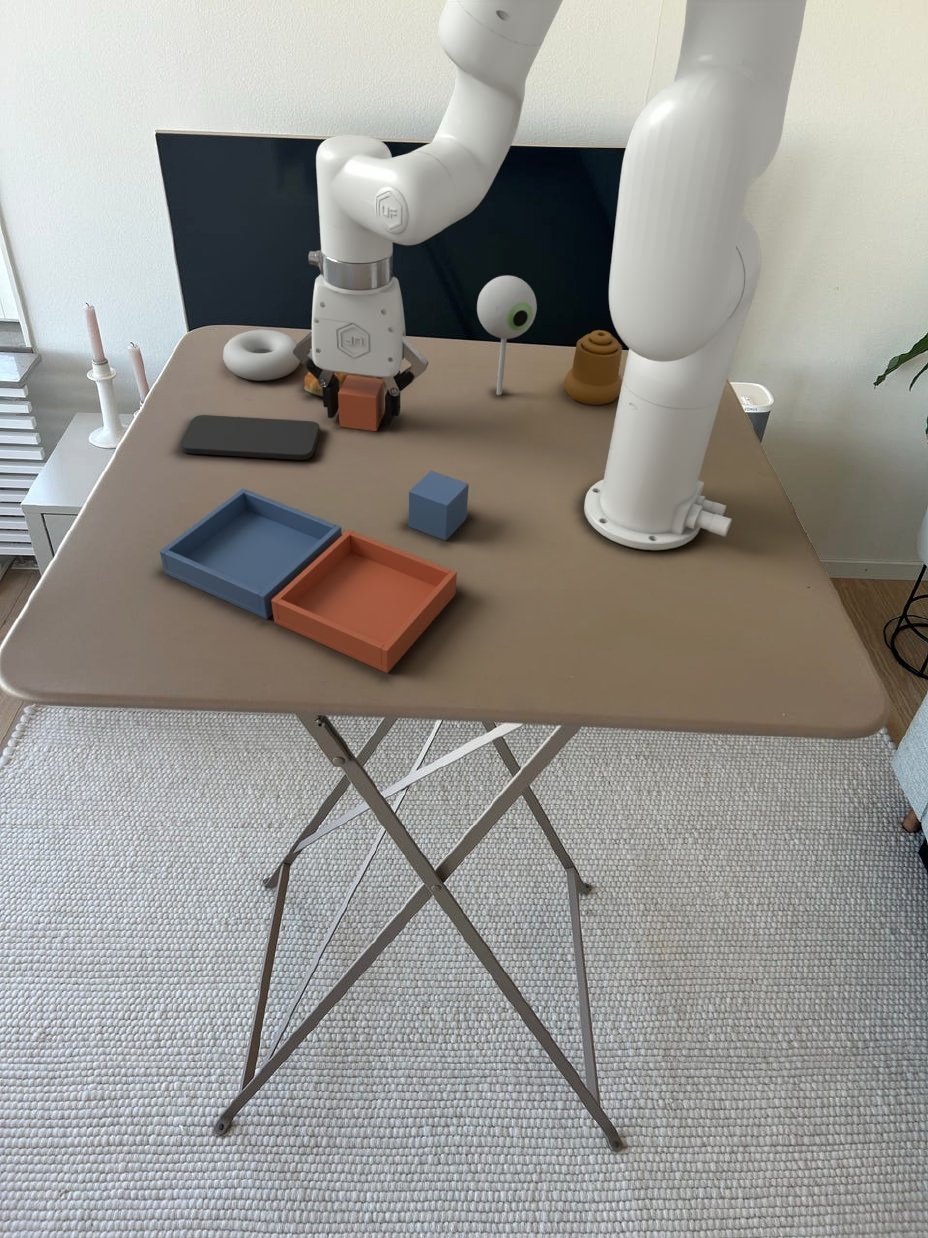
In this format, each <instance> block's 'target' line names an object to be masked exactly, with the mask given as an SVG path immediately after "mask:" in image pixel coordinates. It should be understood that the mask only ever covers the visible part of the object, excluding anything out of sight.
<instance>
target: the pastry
mask: <svg viewBox="0 0 928 1238" xmlns="http://www.w3.org/2000/svg"><path fill="white" fill-rule="evenodd" d="M334 374H335V376H337V379H339V391H340V389H341V387H342V385H343V383H344V381H345V379H346V377H347V375H351V376H359V377H367V378H376V379H378V377H373V376H364V375H356V374H348V373H340V372H334ZM304 391H307V392H309V393H310V394H312V395H316V396H319V397H323V391H322V387H321V386H320V385H319V384H318V380H317V379H316V378H315V377H314V376H313V375H312V374H311V373H310V372H309V371H308V372H307V374H306V375H305V376H304Z"/></svg>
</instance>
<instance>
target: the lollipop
mask: <svg viewBox="0 0 928 1238" xmlns="http://www.w3.org/2000/svg"><path fill="white" fill-rule="evenodd" d="M476 302H477V304H476V312H477V317H478V320H479V322H480V324H481V325H482V327H483V328H484V330H485V331H486V332H487V333H488V334H490V335H492V337H493V336H494V337H496V338H498V339H500V346H499V347H500V348H499V350H500V351H499V359H498V360H499V361H498V372H497V385H496V395H497V396H501V395H502V394H503V384H504V372H505V364H506V363H505V361H506V351H507V340H509V339H514V338H518V337H520V336H521V335H523V334H524V333H526V332H527V331H528V330H529V329H530V328H531V326H532V324H533V323H534V320H535V318H536V314H537V310H538V308H537V307H538V306H537V305H538V304H537V299H536V295H535V293H534V291H533V289H532V288H531V286H530V285H529V284H528V283H527V282H526V280H525V281H524V280H523V279H522V278H519V277H517V276H515V275H500V276H497V277H494V278H493V279H491V280H490V281H489V282H487V283H486V284H485V285H484V286H483V288H482V289H481V291H480V292H479V294H478V298H477V301H476Z"/></svg>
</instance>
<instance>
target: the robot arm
mask: <svg viewBox="0 0 928 1238" xmlns="http://www.w3.org/2000/svg"><path fill="white" fill-rule="evenodd" d="M563 1H564V0H446V2H445V5H444V7H443V9H442V11H441V15H440V16H439V20H438V25H437V36H438V41H439V45H440V46H441V48H442V50H443V51H444V54H446V56H447V58H449V59H450V60H451V62H453V64H454V65H455V67H456V68H455V69H456V75H455V82H454V88H453V92H452V94H451V97H450V100H449V103H448V106H447V108H446V111H445V113H444V115H443V118H442V120H441V122H440V125H439V127H438V128H437V131H436V133H435V134H434V137H433V139H432V140H431V142H429V143H426V144H425V145H423V146H421V147H417V149H416V148H415V150H412V151H410V152H408V153H405V154H402V155H397V156H394V157H393V156H392V153H391V151H390V149H389V147H388V145H387V144H385V143H384V142H383V141H382V140H380V139H377V138H374V137H372V136H368V135H362V134H361V135H360V134H341V135H336V136H331V137H329V138H327V139H325V140H324V141H322V142H321V143H320V144H319V146H318V147H317V150H316V154H315V155H316V156H315V169H316V184H317V201H318V202H317V203H318V218H319V219H318V221H319V234H320V235H319V237H320V250H316V251H313V250H309V253H308V263H309V265H313V266H316V267H317V268H319V270H320V274H319V275H318V276H317V277H316V278H315V280H314V286H313V287H314V288H313V295H312V306H311V307H312V308H311V309H312V310H311V331H310V332H309V333H308V334H307V335H306V336H305V337H304V338H302V339H301V340H300V341H299V342H297V345H296V346H295V348H294V349H293V354H294V355H295V356H296V357H297V358H298V359H299V360H300V363H302V365H304V366H305V368H306V370H307V371H308V372H310V373H311V374H312V375H313V376H314V377H315V378H316V379H317V380H318V384H319V385H320V386H321V387H322V391H323V396H322V404H323V405H322V406H323V407H324V408H327V409H326V410H327V418H328V419H333V418H335V417H336V415H337V413H338V412H339V400H338V393H339V379H337V376H335V374H334V372H340V373H348V374H356V375H364V376H373V377H377V378H382V379H384V385H385V386H386V389H387V390H386V393H385V394H384V424H385V425H386V426H390V427H391V426H392V424H393V422H394V420H395V418H396V417H399V416H400V414H401V392H402V391H403V390H404V389H405V388H407V387H408V386H409V385H411V384H412V383H413V382H414V381H415V380H416V379H417V378H418V377H420V376H421V375H422V374H423V373H424V372H425V371H426V370H427V368H428V366H429V361H428V359H427V358H426V357H425V356H424V355H423V354H422V353H421V352H420V351H419V350H418V349H417V348H416V347H415V345H414V344H412V342H410V341H409V339H407V338H406V321H405V312H404V304H403V297H402V291H401V287H400V282H399V279H398V278H397V277H395V276H394V256H393V255H394V244H396V245H401V246H414V245H419V244H421V243H423V242H425V241H427V240H429V239H431V238H432V237H434V236H435V235H437V234H439V233H441V232H442V231H444V230H445V229H446V228H448V227H449V226H451V225H453V224H455V223H456V222H458V221H460V220H462V219H464V218H465V217H467V216H468V215H470V214H471V213H472V212H474V210H475V209H476V208H477V207H478V206H479V205H480V203H481V202H482V201H483V199H484V198H485V196H486V195H487V193H488V191H489V190H490V188H491V186H492V184H493V182H494V180H495V178H496V177H497V174H498V173H499V170H500V168H501V166H502V165H503V162H504V161H505V159H506V157H507V154H508V152H509V150H510V148H511V147H512V144H513V142H514V139H515V136H516V133H517V130H518V127H519V124H520V119H521V115H522V110H523V109H522V108H523V105H524V101H525V95H526V82H527V78H528V76H529V73H530V70H531V68H532V66H533V64H534V62H535V60H536V57H537V55H538V53H539V51H540V49H541V48H542V45H543V43H544V41H545V38H546V36H547V35H548V32H549V30H550V28H551V27H552V24H553V22H554V19H555V18H556V16H557V14H558V11H559V9H560V8H561V5H562V3H563ZM807 1H808V0H686V3H685V16H684V26H683V32H682V38H681V45H680V50H679V51H680V52H679V57H678V62H677V68H676V71H675V75H674V78H673V81H672V82H671V83H670V84H668V85H666V86H665V87H663V88H661V90H659V91H658V92H657V93H656V94H655V95H654V96H653V97H652V98H651V99H650V100H649V101H648V103H647V104H646V105H645V106H644V108H643V109H642V111H640V114H639V115H638V117H637V119H636V120H635V122H634V125H633V127H632V129H631V132H630V135H629V136H628V140H627V144H626V147H625V150H624V153H623V159H622V164H621V172H620V178H619V179H620V180H619V187H618V196H617V197H618V198H617V204H616V205H617V206H616V214H615V215H616V216H615V223H614V224H615V226H614V233H613V234H614V235H613V242H612V251H611V252H612V253H611V261H610V262H611V263H610V270H609V280H608V281H609V282H608V305H609V311H610V317H611V321H612V324H613V326H614V328H615V331H616V333H617V335H618V336H619V337H620V339H621V341H622V342H623V344H625V346H627V348H628V353H627V356H626V362H625V367H624V373H623V376H622V379H621V380H622V386H621V391H620V395H619V396H618V397H619V398H618V402H617V406H616V412H615V417H614V423H613V429H612V433H611V438H610V444H609V450H608V455H607V460H606V465H605V471H604V475H603V479H601V480H599V481H597V482H595V483H594V484H593V485H592V486H591V487H590V488H589V489H588V491H587V492H586V495H585V498H584V505H583V511H584V516H585V518H586V519H587V521H588V523H589V524H590V525H591V527H593V529H594V530H596V531H597V532H598V533H600V534H601V536H604V537H605V538H607V539H608V540H610V541H611V542H612V541H613V542H614V543H617V544H620V545H622V546H626V547H630V548H632V549H638V550H645V551H648V550H649V551H664V550H669V549H675V548H678V547H681V546H683V545H686V544H687V543H689V542H691V541H692V540H694V538H695V537H696V536H698V533H699V532H700V529H704V530H706V531H708V532H710V533H712V534H716V535H719V536H721V537H724V538H725V537H726V536H727V534H728V532H729V530H730V527H731V524H732V520H733V519H732V518H730V517H727V516H724V514H725V512H726V509H727V505H725V504H722V503H719V502H716V501H711V500H709V499H706V496H705V495H702V491H703V488H704V485H705V482H704V481H701V480H699V478H700V475H701V472H702V467H703V465H704V460H705V458H706V457H705V456H706V453H707V450H708V446H709V443H710V439H711V435H712V432H713V428H714V424H715V420H716V417H717V414H718V410H719V406H720V403H721V400H722V397H723V393H724V391H725V386H726V383H727V380H728V377H729V371H730V370H731V365H732V362H733V359H734V355H735V352H736V350H737V346H738V343H739V339H740V337H741V334H742V331H743V328H744V326H745V323H746V320H747V316H748V314H749V311H750V308H751V305H752V303H753V299H754V297H755V294H756V291H757V287H758V284H759V280H760V276H761V270H762V258H763V257H762V246H761V241H760V238H759V234H758V232H757V230H756V228H755V226H754V225H753V222H751V220H750V219H749V218H748V216H746V215H745V214H744V209H745V205H746V201H747V197H748V192H749V188H750V187H751V186H753V184H754V183H756V182H757V180H758V179H759V178H760V177H761V176H762V175H763V174H764V173H765V172H766V171H767V169H768V167H769V166H770V164H771V163H772V161H773V160H774V158H775V157H776V154H777V152H778V148H779V146H780V142H781V140H782V135H783V130H784V125H785V124H784V123H785V117H786V112H787V111H786V110H787V104H788V99H789V94H790V90H791V84H792V79H793V74H794V69H795V65H796V59H797V54H798V50H799V45H800V41H801V36H802V31H803V25H804V19H805V18H804V17H805V12H806V6H807ZM404 359H405V360H407V361H408V362H409V363H410V366H409V367H407V368H406V369H405V370H403V371H402V372H401V368H402V362H403V360H404Z"/></svg>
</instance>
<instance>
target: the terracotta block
mask: <svg viewBox="0 0 928 1238" xmlns="http://www.w3.org/2000/svg"><path fill="white" fill-rule="evenodd" d="M338 400H339V409H338V418H339V427H340V428H347V429H354V430H363V431H371V432H377V430H378V429H379V426H380V424H381V421H382V419H383V417H384V416H385V382H384V379H383V378H367V377H359V376H351V375H347V377H346V379H345V381H344V383H343V385H342V387H341V389H340V391H339V393H338Z"/></svg>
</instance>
